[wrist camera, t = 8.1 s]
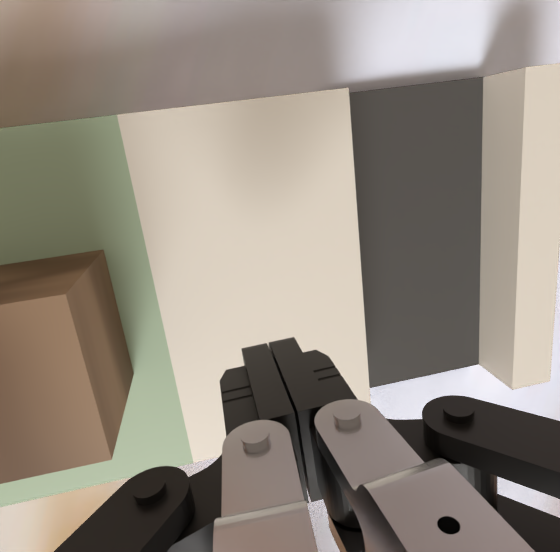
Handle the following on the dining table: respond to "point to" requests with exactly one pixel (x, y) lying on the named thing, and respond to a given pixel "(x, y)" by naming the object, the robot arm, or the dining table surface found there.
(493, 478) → the robot arm
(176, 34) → the dining table surface
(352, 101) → the trap deck
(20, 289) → the walnut block
